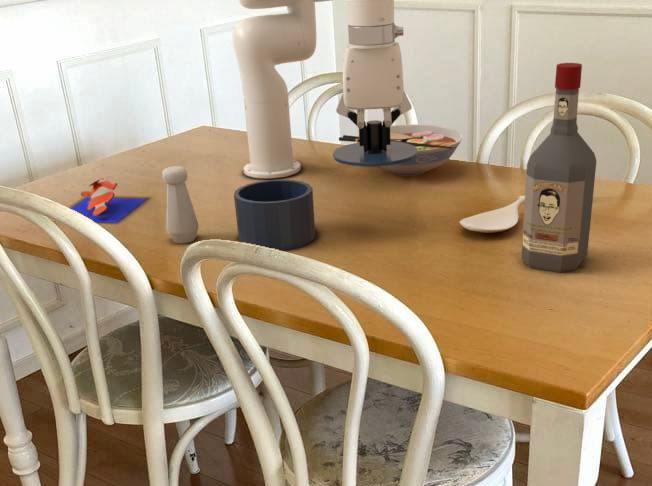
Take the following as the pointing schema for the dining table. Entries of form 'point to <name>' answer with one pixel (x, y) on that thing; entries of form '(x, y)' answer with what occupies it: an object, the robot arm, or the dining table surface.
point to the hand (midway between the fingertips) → (375, 148)
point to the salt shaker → (179, 206)
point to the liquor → (559, 185)
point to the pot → (275, 213)
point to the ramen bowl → (421, 147)
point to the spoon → (494, 219)
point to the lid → (375, 150)
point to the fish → (105, 203)
